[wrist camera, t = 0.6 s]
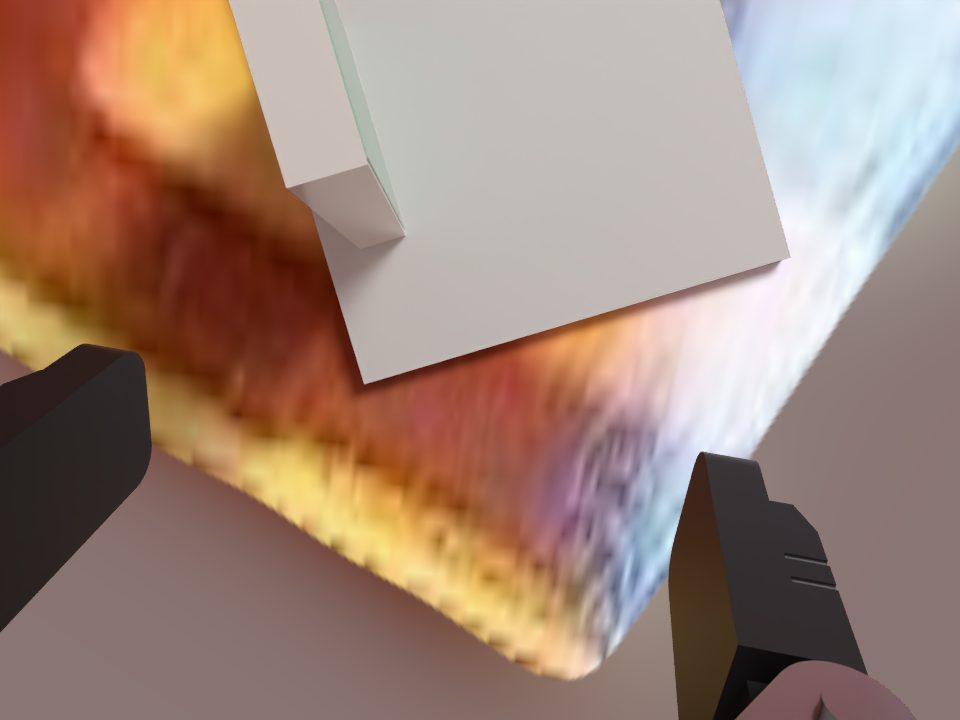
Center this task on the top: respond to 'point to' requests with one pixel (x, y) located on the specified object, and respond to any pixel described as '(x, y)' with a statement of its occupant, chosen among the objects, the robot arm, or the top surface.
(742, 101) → the mat
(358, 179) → the tile
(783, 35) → the top surface
